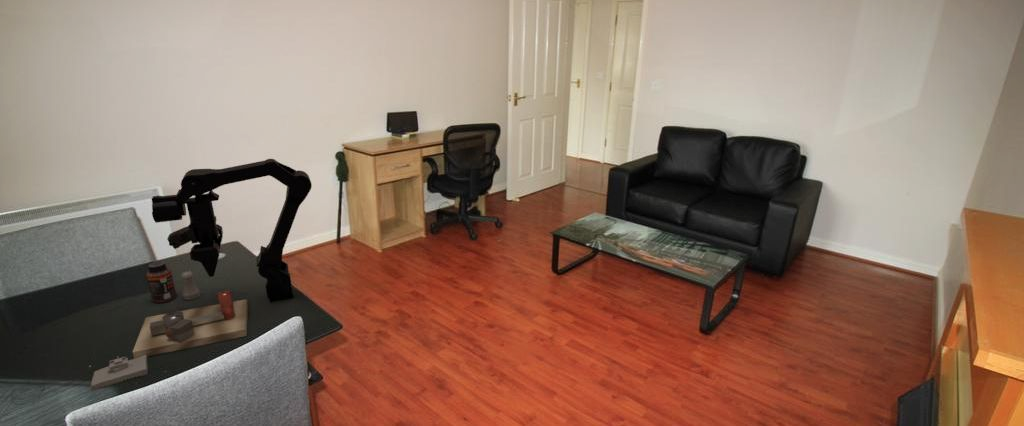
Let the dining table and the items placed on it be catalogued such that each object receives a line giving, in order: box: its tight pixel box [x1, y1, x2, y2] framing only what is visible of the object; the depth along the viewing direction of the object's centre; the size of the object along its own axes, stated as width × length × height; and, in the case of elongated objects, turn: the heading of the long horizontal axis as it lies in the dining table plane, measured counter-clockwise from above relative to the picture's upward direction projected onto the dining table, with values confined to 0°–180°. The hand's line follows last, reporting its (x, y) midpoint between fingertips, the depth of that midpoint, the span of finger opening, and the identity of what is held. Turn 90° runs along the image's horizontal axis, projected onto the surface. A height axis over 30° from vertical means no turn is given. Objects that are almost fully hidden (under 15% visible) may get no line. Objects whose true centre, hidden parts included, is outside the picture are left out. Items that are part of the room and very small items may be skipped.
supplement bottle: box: [146, 260, 177, 304], centre depth 143 cm, size 6×6×11 cm
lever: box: [150, 289, 235, 335], centre depth 127 cm, size 18×4×7 cm, turn 121°
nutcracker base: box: [132, 299, 249, 359], centre depth 129 cm, size 24×17×6 cm
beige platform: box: [90, 355, 149, 391], centre depth 113 cm, size 12×11×4 cm
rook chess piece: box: [180, 270, 201, 301], centre depth 145 cm, size 4×4×8 cm
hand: (213, 269), depth 137 cm, fingers open, 9 cm apart
